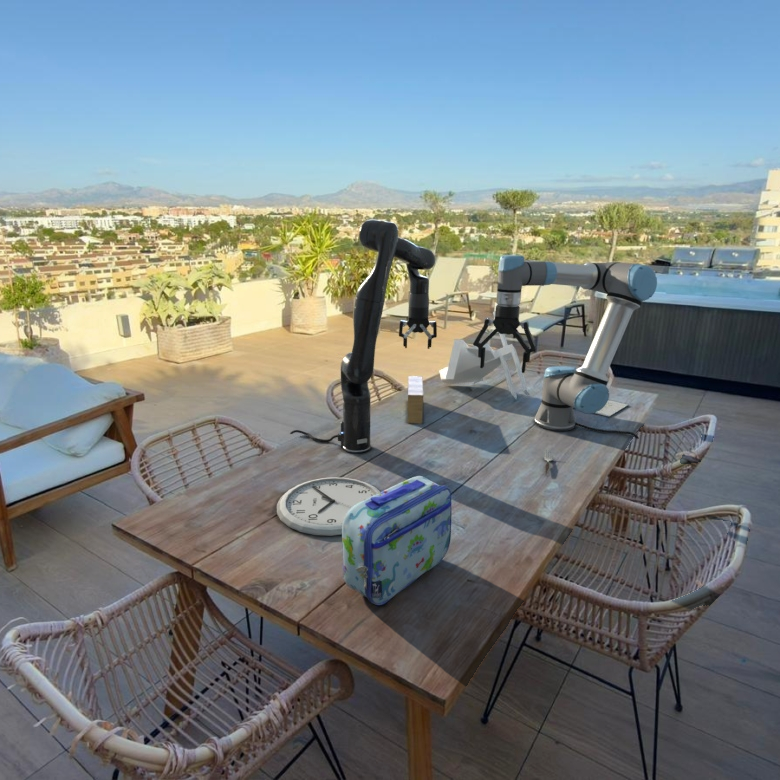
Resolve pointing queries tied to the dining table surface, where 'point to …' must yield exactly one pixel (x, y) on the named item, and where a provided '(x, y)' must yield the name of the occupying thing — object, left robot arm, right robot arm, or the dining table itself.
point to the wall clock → (322, 504)
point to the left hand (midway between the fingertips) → (417, 348)
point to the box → (415, 399)
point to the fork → (548, 460)
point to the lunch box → (395, 537)
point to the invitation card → (611, 408)
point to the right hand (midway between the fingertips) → (502, 369)
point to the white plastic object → (468, 364)
